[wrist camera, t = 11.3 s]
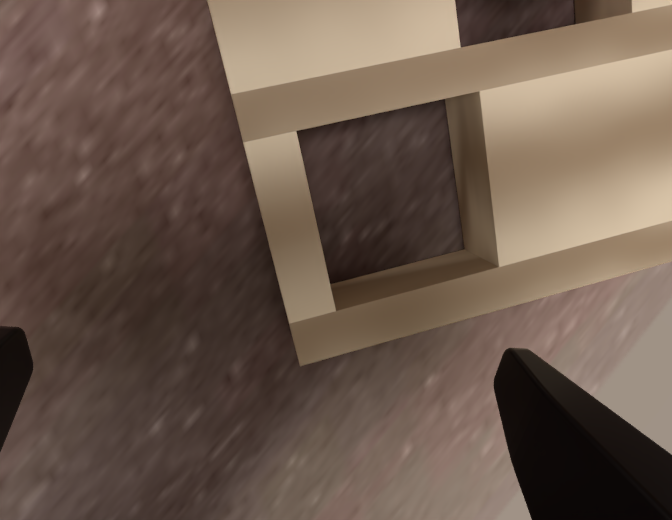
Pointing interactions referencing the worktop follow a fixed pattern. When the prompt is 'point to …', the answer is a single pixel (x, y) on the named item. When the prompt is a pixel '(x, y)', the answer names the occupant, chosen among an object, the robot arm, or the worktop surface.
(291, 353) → the worktop surface
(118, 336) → the worktop surface
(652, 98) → the socket board
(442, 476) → the worktop surface
